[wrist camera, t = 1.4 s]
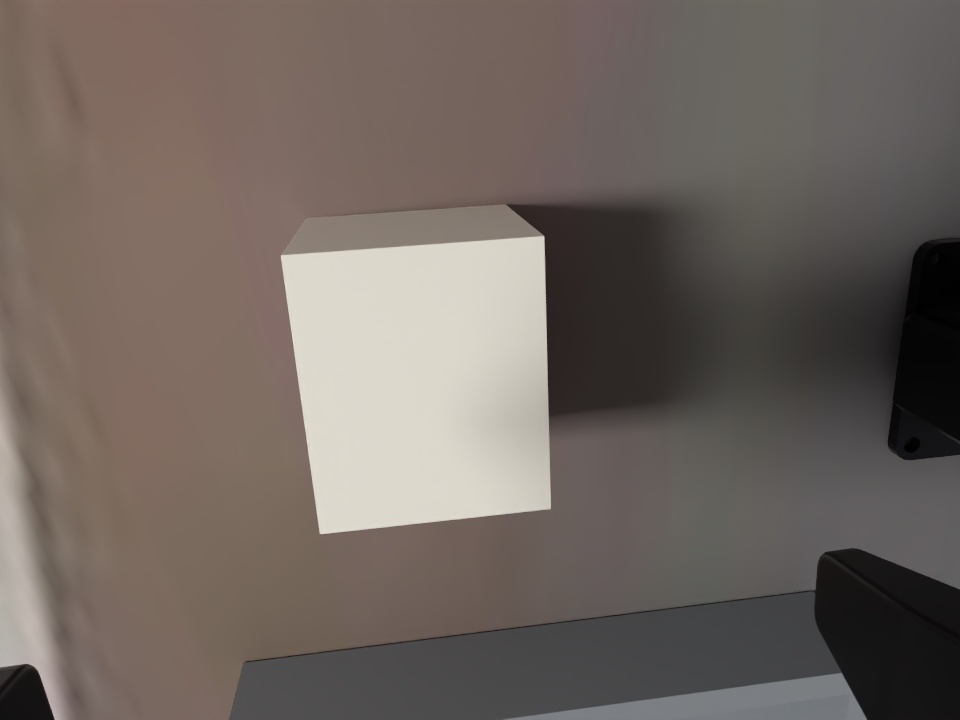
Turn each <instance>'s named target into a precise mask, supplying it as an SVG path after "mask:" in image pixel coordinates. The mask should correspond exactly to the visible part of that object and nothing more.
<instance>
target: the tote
mask: <svg viewBox="0 0 960 720" xmlns="http://www.w3.org/2000/svg"><path fill="white" fill-rule="evenodd" d="M814 602H815V593H814V592H813V591H810V592H802V593H794V594H787V595H779V596H771V597H763V598H755V599H747V600H739V601H731V602H723V603H715V604H707V605H699V606H691V607H683V608H675V609H667V610H659V611H651V612H643V613H636V614H628V615H620V616H612V617H604V618H596V619H588V620H580V621H572V622H564V623H556V624H548V625H540V626H532V627H524V628H516V629H508V630H500V631H492V632H484V633H477V634H469V635H461V636H453V637H445V638H437V639H429V640H421V641H413V642H405V643H397V644H389V645H381V646H373V647H365V648H357V649H349V650H341V651H333V652H326V653H318V654H310V655H302V656H294V657H286V658H278V659H270V660H262V661H254V662H246V663H243V667H242V670H241V674H240V678H239V682H238V686H237V690H236V694H235V698H234V702H233V706H232V710H231V714H230V718H229V720H867V719H866V717H865V715H864V713H863V712H862V710H861V708H860V706H859V704H858V702H857V700H856V699H855V697H854V695H853V693H852V691H851V689H850V688H849V686H848V684H847V682H846V680H845V678H844V676H843V675H842V673H841V671H840V669H839V667H838V665H837V663H836V662H835V660H834V658H833V656H832V654H831V652H830V651H829V649H828V647H827V645H826V643H825V641H824V639H823V638H822V636H821V634H820V632H819V630H818V627H817V624H816V621H815V615H814Z"/></svg>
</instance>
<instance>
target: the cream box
mask: <svg viewBox="0 0 960 720" xmlns="http://www.w3.org/2000/svg"><path fill="white" fill-rule="evenodd" d="M281 260H282V267H283V274H284V281H285V289H286V296H287V303H288V310H289V317H290V324H291V331H292V338H293V345H294V353H295V360H296V367H297V374H298V381H299V388H300V395H301V402H302V409H303V417H304V424H305V431H306V438H307V445H308V452H309V459H310V466H311V473H312V481H313V488H314V495H315V502H316V509H317V516H318V523H319V530H320V534H327V533H336V532H345V531H354V530H363V529H372V528H381V527H391V526H400V525H409V524H418V523H427V522H436V521H445V520H454V519H464V518H473V517H482V516H491V515H500V514H509V513H518V512H527V511H537V510H546V509H551V497H550V455H549V413H548V370H547V328H546V285H545V243H544V235H542V234H541V233H540V232H539V231H538V230H536V229H535V228H534V227H533V226H531V225H530V224H529V223H528V222H527V221H525V220H524V219H523V218H522V217H520V216H519V215H518V214H517V213H515V212H514V211H513V210H512V209H511V208H509V207H508V206H507V205H506V204H503V205H489V206H474V207H460V208H445V209H431V210H416V211H402V212H387V213H373V214H358V215H344V216H329V217H315V218H306V219H305V221H304V222H303V224H302V225H301V227H300V228H299V230H298V231H297V233H296V234H295V235H294V237H293V238H292V240H291V241H290V243H289V244H288V246H287V247H286V249H285V250H284V252H283V253H282V254H281Z"/></svg>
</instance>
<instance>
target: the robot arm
mask: <svg viewBox="0 0 960 720" xmlns="http://www.w3.org/2000/svg"><path fill="white" fill-rule="evenodd" d="M937 253H938V260H937V263H936V264H935V265H934V266H932V267H931V261H932V258H933V257H934V256H935V255H936V254H937ZM909 438H911V441H910V443H909V444H908V445H907V446H904V445H905V442H906V441H907V440H908V439H909ZM888 447H889V449H890V450H891V451H892V452H893V453H895V454H896V455H897V456H899V457H901V458H902V459H904V460H915V459H925V458H934V457H943V456H952V455H960V238H958V239H945V240H933V241H929V242H926V243H924V244H923V245H921V246H920V247H919V248H918V250H917V251H916V252H915V255H914V258H913V263H912V270H911V277H910V284H909V292H908V299H907V306H906V313H905V320H904V324H903V329H902V337H901V344H900V351H899V358H898V366H897V373H896V380H895V387H894V395H893V407H892V414H891V422H890V429H889V436H888ZM814 615H815V621H816V624H817V627H818V630H819V632H820V634H821V636H822V638H823V639H824V641H825V643H826V645H827V647H828V649H829V651H830V652H831V654H832V656H833V658H834V660H835V662H836V663H837V665H838V667H839V669H840V671H841V673H842V675H843V676H844V678H845V680H846V682H847V684H848V686H849V688H850V689H851V691H852V693H853V695H854V697H855V699H856V700H857V702H858V704H859V706H860V708H861V710H862V712H863V713H864V715H865V717H866V719H867V720H960V589H957V588H955V587H952V586H950V585H947V584H945V583H942V582H940V581H937V580H935V579H932V578H930V577H927V576H925V575H922V574H920V573H917V572H915V571H912V570H910V569H907V568H905V567H902V566H900V565H897V564H895V563H892V562H890V561H887V560H885V559H882V558H880V557H877V556H875V555H872V554H870V553H867V552H865V551H862V550H860V549H855V548H850V549H843V550H836V551H829V552H825V553H824V554H822V555H821V556H820V559H819V561H818V566H817V578H816V590H815V602H814ZM0 720H54V716H53V713H52V710H51V707H50V704H49V702H48V699H47V696H46V693H45V690H44V687H43V684H42V681H41V678H40V675H39V673H38V671H37V670H36V669H35V667H33V666H31V665H28V664H22V665H15V666H8V667H1V668H0Z"/></svg>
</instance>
